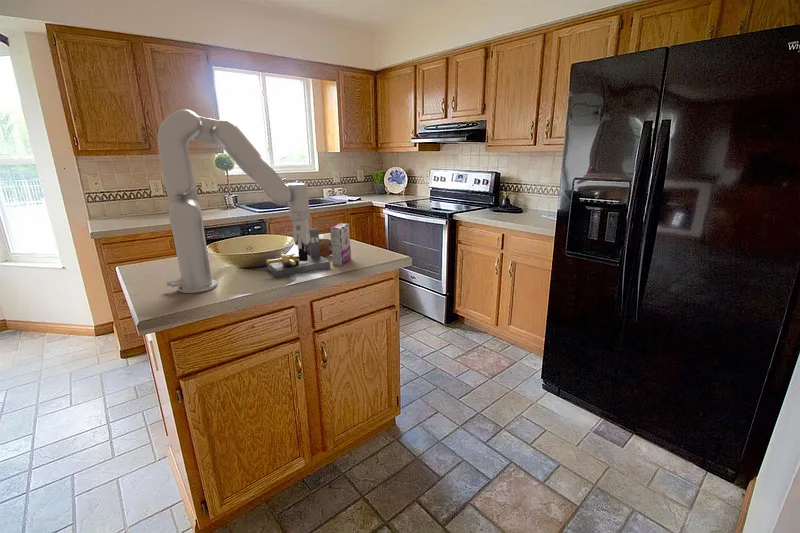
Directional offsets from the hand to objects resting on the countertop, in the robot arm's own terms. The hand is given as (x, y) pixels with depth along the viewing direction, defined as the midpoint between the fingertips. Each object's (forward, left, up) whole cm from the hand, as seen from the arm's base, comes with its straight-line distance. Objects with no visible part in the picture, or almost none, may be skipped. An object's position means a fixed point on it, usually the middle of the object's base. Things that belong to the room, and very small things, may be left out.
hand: (303, 260), depth 152 cm
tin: (+15, +20, -5) cm, 25 cm away
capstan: (-5, +3, -2) cm, 6 cm away
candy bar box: (+19, +4, -5) cm, 20 cm away
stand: (0, +5, -5) cm, 7 cm away
